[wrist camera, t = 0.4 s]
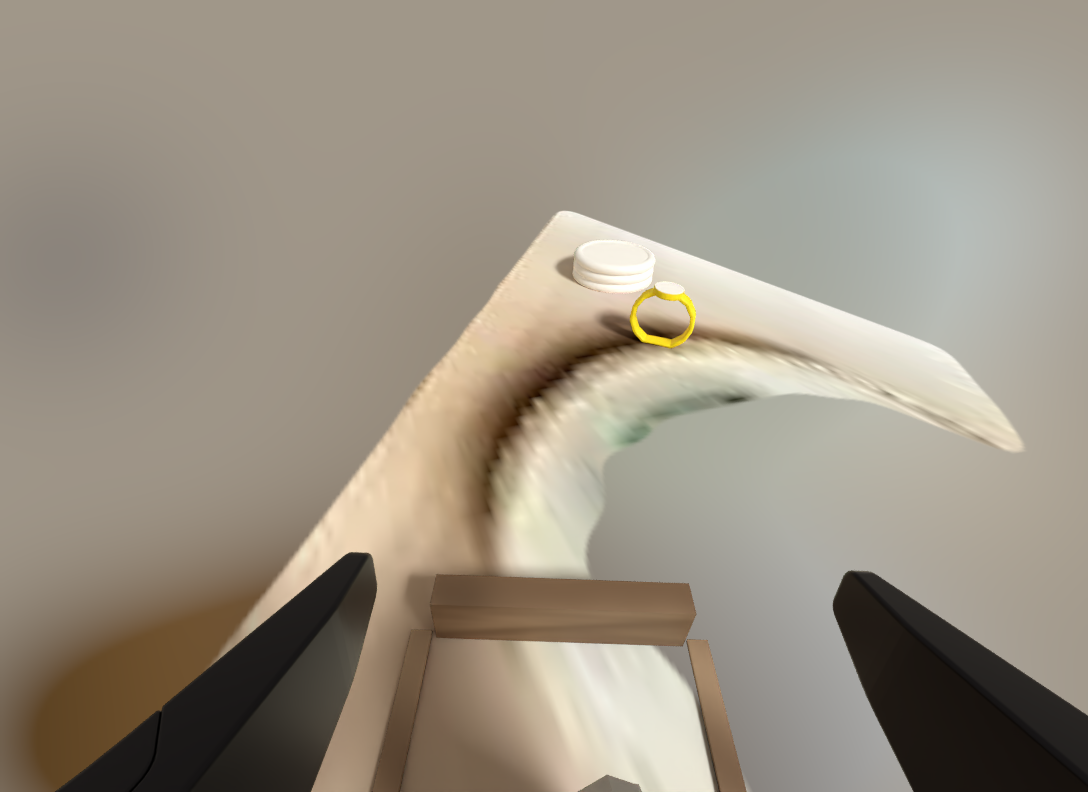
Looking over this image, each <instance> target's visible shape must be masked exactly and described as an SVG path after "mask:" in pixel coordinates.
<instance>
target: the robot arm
mask: <svg viewBox="0 0 1088 792" xmlns="http://www.w3.org/2000/svg"><path fill="white" fill-rule="evenodd" d="M376 593H377V582H376V576H375V569H374V563H373V558H372V556H371V554H369V553H358V552H350V553H348V554H346V555H345V556H343V557H342V558H341V559H340V560H338V561H337V562H336V563H335V564H334V565H332V566H331V567H330V568H329V569H328V570H326V571H325V572H324V573H323V574H322V575H320V576H319V577H318V578H317V579H316V580H314V581H313V582H312V583H311V584H310V585H308V586H307V587H306V588H305V589H304V590H302V591H301V592H300V593H299V594H297V595H296V596H295V597H294V598H293V599H291V600H290V601H289V602H288V603H287V604H285V605H284V606H283V607H282V608H281V609H279V610H278V611H277V612H276V613H275V614H273V615H272V616H271V617H270V618H269V619H267V620H266V621H265V622H264V623H262V624H261V625H260V626H259V627H258V628H256V629H255V630H254V631H253V632H252V633H250V634H249V635H248V636H247V637H246V638H244V639H243V640H242V641H241V642H240V643H238V644H237V645H236V646H235V647H234V648H232V649H231V650H230V651H229V652H227V653H226V654H225V655H224V656H223V657H221V658H220V659H219V660H218V661H217V662H215V663H214V664H213V665H212V666H211V667H209V668H208V669H207V670H206V671H205V672H203V673H202V674H201V675H200V676H199V677H197V678H196V679H195V680H194V681H192V682H191V683H190V684H189V685H188V686H186V687H185V688H184V689H183V690H182V691H180V692H179V693H178V694H177V695H176V696H174V697H173V698H172V699H171V700H170V701H168V702H167V703H166V704H165V705H164V706H163V707H162V711H156V712H155V713H154V714H152V715H151V716H150V717H149V718H148V719H146V720H145V721H144V722H143V723H142V724H140V725H139V726H138V727H137V728H135V730H133V731H132V732H131V733H129V734H128V735H127V736H126V737H124V738H123V739H122V740H121V741H119V742H118V743H117V744H116V745H114V746H113V747H112V748H111V749H109V750H108V751H107V752H106V753H104V755H102V756H101V757H100V758H98V759H97V760H96V761H95V762H93V763H92V764H91V765H90V766H88V767H87V768H86V769H84V770H83V771H82V772H80V773H79V774H78V775H76V776H75V777H74V778H73V779H71V780H70V781H68V782H67V783H66V784H65V785H63V786H62V787H61V788H59V789H58V790H57V791H55V792H311V790H312V787H313V785H314V782H315V780H316V777H317V774H318V772H319V769H320V767H321V764H322V761H323V759H324V756H325V753H326V751H327V748H328V746H329V743H330V740H331V738H332V735H333V732H334V730H335V727H336V725H337V722H338V719H339V717H340V714H341V712H342V709H343V706H344V704H345V701H346V698H347V696H348V693H349V690H350V687H351V685H352V682H353V679H354V675H355V672H356V669H357V665H358V661H359V658H360V654H361V650H362V646H363V643H364V639H365V635H366V631H367V628H368V624H369V620H370V617H371V613H372V609H373V605H374V602H375V598H376ZM833 611H834V615H835V618H836V620H837V622H838V625H839V628H840V630H841V633H842V636H843V638H844V641H845V643H846V646H847V648H848V651H849V653H850V656H851V659H852V661H853V664H854V666H855V669H856V672H857V674H858V677H859V679H860V682H861V684H862V687H863V689H864V691H865V694H866V696H867V698H868V701H869V702H870V705H871V707H872V709H873V711H874V713H875V715H876V717H877V719H878V721H879V723H880V725H881V727H882V729H883V731H884V733H885V735H886V737H887V739H888V741H889V743H890V745H891V748H892V750H893V752H894V754H895V756H896V758H897V760H898V761H899V763H900V766H901V768H902V770H903V772H904V774H905V776H906V778H907V780H908V782H909V784H910V786H911V788H912V790H913V792H1088V716H1087V715H1086V714H1085V713H1083V712H1081V711H1080V710H1079V709H1077V708H1075V707H1074V706H1073V705H1071V704H1070V703H1068V702H1067V701H1065V700H1064V699H1062V698H1061V697H1059V696H1058V695H1056V694H1055V693H1053V692H1052V691H1050V690H1049V689H1047V688H1046V687H1044V686H1042V685H1041V684H1039V683H1038V682H1036V681H1035V680H1033V679H1032V678H1031V677H1029V676H1028V675H1026V674H1025V673H1023V672H1022V671H1020V670H1019V669H1017V668H1016V667H1014V666H1013V665H1011V664H1009V663H1008V662H1007V661H1005V660H1004V659H1002V658H1001V657H999V656H998V655H996V654H995V653H993V652H992V651H990V650H989V649H987V648H985V647H984V646H983V645H981V644H980V643H978V642H977V641H975V640H974V639H972V638H971V637H969V636H967V635H966V634H965V633H963V632H962V631H960V630H958V629H957V628H956V627H954V626H952V625H951V624H950V623H948V622H946V621H945V620H943V619H942V618H941V617H939V616H938V615H936V614H934V613H933V612H931V611H930V610H928V609H927V608H926V607H924V606H922V605H921V604H920V603H918V602H917V601H915V600H914V599H912V598H910V597H909V596H908V595H906V594H905V593H903V592H902V591H900V590H899V589H897V588H895V587H894V586H892V585H891V584H889V583H888V582H886V581H885V580H883V579H882V578H880V577H879V576H877V575H876V574H874V573H872V572H868V571H848V572H847V573H845V575H844V576H843V579H842V581H841V583H840V586H839V588H838V590H837V593H836V595H835V597H834V600H833Z"/></svg>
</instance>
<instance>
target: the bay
mask: <svg viewBox="0 0 1088 792" xmlns="http://www.w3.org/2000/svg"><path fill="white" fill-rule="evenodd" d="M430 607H431V612H432V617H433V622H434V627H435V632H436V637H437V638H461V639H489V640H517V641H545V642H574V643H602V644H630V645H658V646H683V644H684V642H685V639H686V637H687V635H688V632H689V630H690V628H691V625H692V623H693V620H694V618H695V616H696V610H695V607H694V602H693V599H692V594H691V590H690V586H689V584H685V583H684V584H683V583H658V582H657V583H656V582H631V581H629V582H628V581H603V580H576V579H549V578H521V577H494V576H466V575H439V574H437V575H436V579H435V584H434V588H433V593H432V597H431V602H430ZM431 637H432V630H411V634H410V638H409V642H408V646H407V650H406V655H405V659H404V663H403V667H402V671H401V675H400V679H399V683H398V687H397V691H396V696H395V700H394V704H393V708H392V712H391V716H390V720H389V724H388V728H387V733H386V737H385V741H384V745H383V749H382V753H381V757H380V761H379V765H378V770H377V774H376V778H375V782H374V786H373V790H372V792H400V787H401V782H402V777H403V773H404V768H405V763H406V758H407V753H408V748H409V744H410V739H411V734H412V729H413V724H414V719H415V715H416V710H417V705H418V700H419V695H420V690H421V686H422V681H423V676H424V671H425V666H426V661H427V657H428V652H429V647H430V642H431ZM687 646H688V651H689V655H690V660H691V665H692V669H693V674H694V678H695V682H696V687H697V692H698V696H699V701H700V705H701V710H702V714H703V719H704V724H705V728H706V733H707V737H708V742H709V746H710V751H711V755H712V760H713V764H714V769H715V773H716V778H717V782H718V787H719V791H720V792H746V788H745V784H744V780H743V776H742V772H741V768H740V764H739V761H738V757H737V753H736V749H735V745H734V741H733V737H732V734H731V730H730V726H729V722H728V718H727V714H726V710H725V706H724V702H723V698H722V695H721V690H720V687H719V683H718V679H717V675H716V671H715V667H714V663H713V659H712V655H711V652H710V648H709V644H708V640H691V639H689V640H688V639H687Z"/></svg>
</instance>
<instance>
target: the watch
mask: <svg viewBox="0 0 1088 792" xmlns="http://www.w3.org/2000/svg"><path fill="white" fill-rule="evenodd" d="M684 292H685V291H684V288H683V287H682V286H680V285H678V284H676V283H672V282H658V283H656V284H655V285H654V288H652V289H649V290H646V291H645V292H643V293H642V295H641V296H640V297H639V298H638V299H637V300H636V301H635V303H634V305H633V307H632V311H631V315H630V323H631V327H632V331H633V332H634V334H635V335H636V336H637V338H638V339H639V340H640V341H641V342H644V343H649V344H654V345H659V346H663V347H668V348H673V347H676V346H678V345H680V344H682V343H683V342H685V341H686V339H687V338H688V337H689V336H690V334H691V333H692V331H693V328H694V323H695V317H696V313H695V312H696V311H695V308H694V306H693V303H692V301H691V300H690V298H689V297H688V296H687V295H685V294H684ZM655 295H656V296H657V297H659V298H661V299H664V300H669V301H676V300H679V301H680V302H681V303H682V304H683V305H685V306H686V308H687V311H688V313H689V316H690V325H689V327H688V328H687V329H686V331H685V332H684V333H683V334H682V335H680V336H678V337H676V338H674V339H667V338H662V337H657V336H651V335H647V334H646V333H645V332H644V331H643V330H642V329H641V328H640V327H639V324H638V321H637V317H636V312H637V308H638V306H639V305H640V304H641V303H642V302H643V301H644V299H647V298H649V297H652V296H655Z"/></svg>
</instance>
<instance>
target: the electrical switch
mask: <svg viewBox="0 0 1088 792" xmlns="http://www.w3.org/2000/svg"><path fill="white" fill-rule="evenodd" d="M578 792H642V791H641V789H640V786H639V784H633V783H630V782H627V781H624V780H621V779H618V778H615V777H612V776H609V775H606V776H604V777H602V778H601V779H599V780H597V781H596V782H594V783H592V784H590V785H589V786H587V787H585V788H584V789H582V790H580V791H578Z"/></svg>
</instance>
